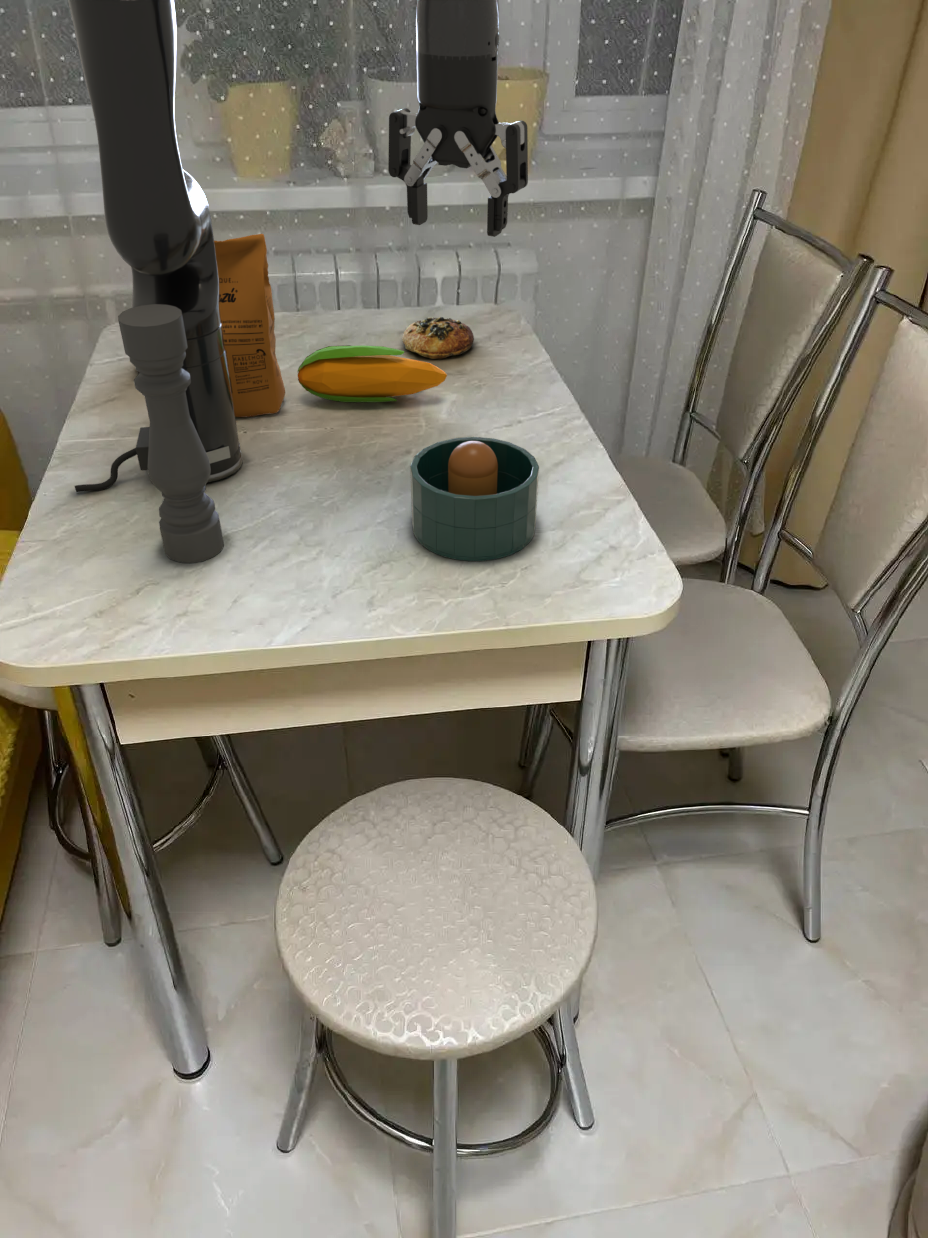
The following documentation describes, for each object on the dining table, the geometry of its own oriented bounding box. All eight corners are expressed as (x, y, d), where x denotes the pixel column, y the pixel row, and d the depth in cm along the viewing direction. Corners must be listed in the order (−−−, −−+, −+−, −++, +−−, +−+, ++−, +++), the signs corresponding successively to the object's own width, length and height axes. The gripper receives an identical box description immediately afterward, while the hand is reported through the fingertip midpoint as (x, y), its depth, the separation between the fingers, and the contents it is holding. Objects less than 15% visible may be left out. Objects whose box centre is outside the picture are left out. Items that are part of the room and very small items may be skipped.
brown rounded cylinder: (452, 537, 105) (451, 456, 99) (445, 512, 109) (445, 433, 103) (499, 533, 105) (502, 453, 99) (491, 508, 109) (493, 430, 103)
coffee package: (201, 387, 135) (173, 222, 122) (291, 387, 136) (273, 222, 122) (185, 419, 128) (154, 246, 114) (281, 419, 128) (261, 247, 114)
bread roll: (488, 339, 149) (485, 308, 146) (449, 373, 143) (445, 342, 139) (428, 327, 154) (424, 297, 151) (388, 360, 148) (382, 329, 144)
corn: (298, 333, 131) (447, 333, 131) (304, 384, 136) (447, 385, 136) (291, 358, 125) (446, 359, 126) (297, 411, 131) (447, 412, 131)
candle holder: (199, 524, 107) (157, 298, 92) (236, 544, 104) (199, 313, 89) (152, 548, 103) (100, 316, 88) (189, 569, 100) (142, 333, 85)
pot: (420, 566, 101) (419, 503, 96) (406, 500, 112) (404, 441, 107) (547, 555, 103) (551, 493, 98) (521, 491, 113) (523, 433, 109)
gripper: (369, 46, 90) (378, 229, 100) (511, 57, 85) (505, 248, 95) (408, 36, 95) (412, 211, 105) (544, 46, 90) (535, 228, 100)
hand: (456, 228), depth 100 cm, fingers open, 8 cm apart
